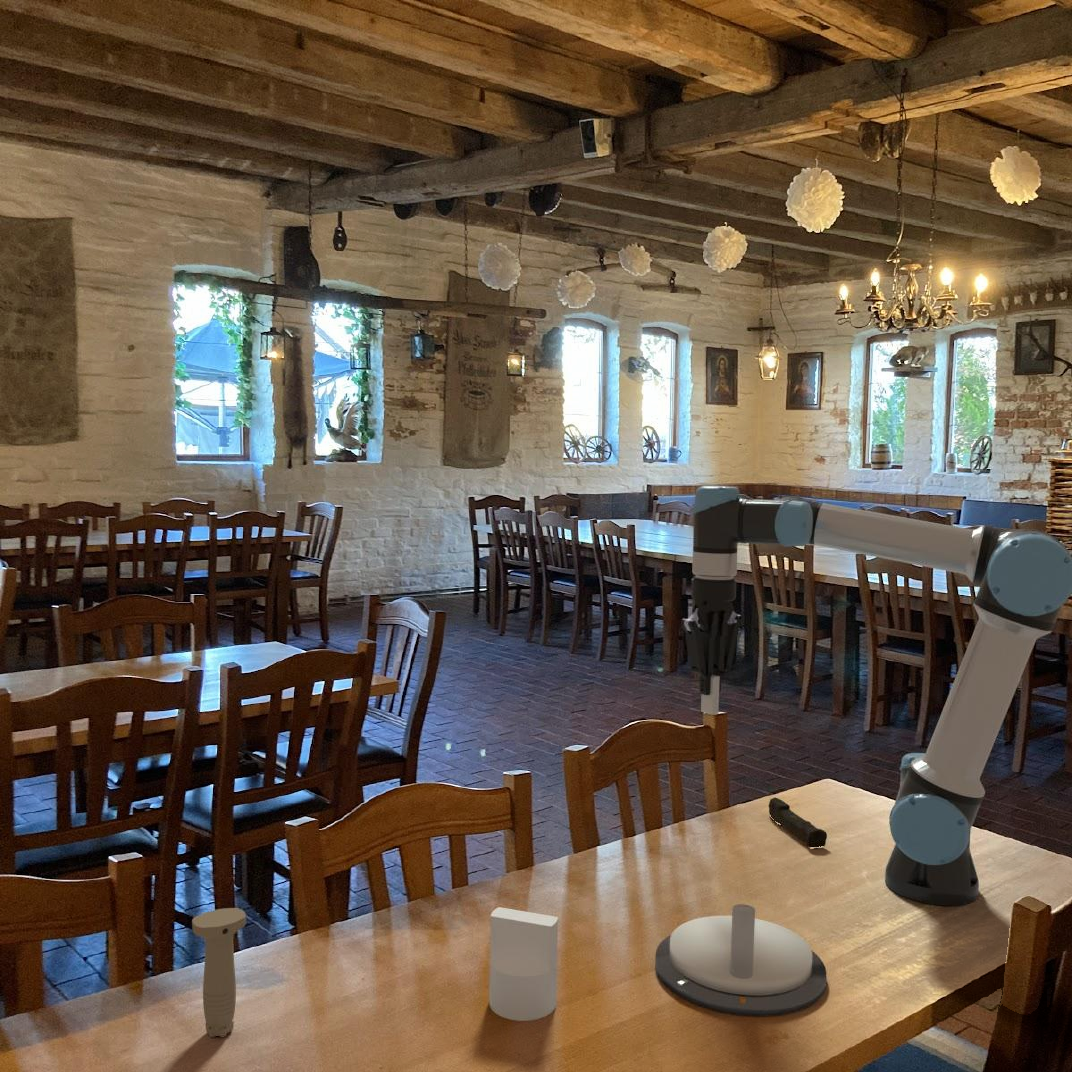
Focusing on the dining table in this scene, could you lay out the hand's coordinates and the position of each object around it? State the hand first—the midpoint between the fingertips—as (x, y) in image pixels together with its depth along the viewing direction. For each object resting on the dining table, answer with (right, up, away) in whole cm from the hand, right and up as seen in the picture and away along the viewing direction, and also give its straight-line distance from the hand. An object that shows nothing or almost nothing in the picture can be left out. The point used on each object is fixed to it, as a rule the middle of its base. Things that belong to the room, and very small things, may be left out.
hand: (709, 712), depth 183 cm
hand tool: (+20, -28, +26) cm, 43 cm away
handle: (-70, -33, -49) cm, 91 cm away
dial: (-1, -30, -31) cm, 43 cm away
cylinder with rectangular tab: (-32, -33, -40) cm, 61 cm away
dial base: (-1, -32, -31) cm, 44 cm away
